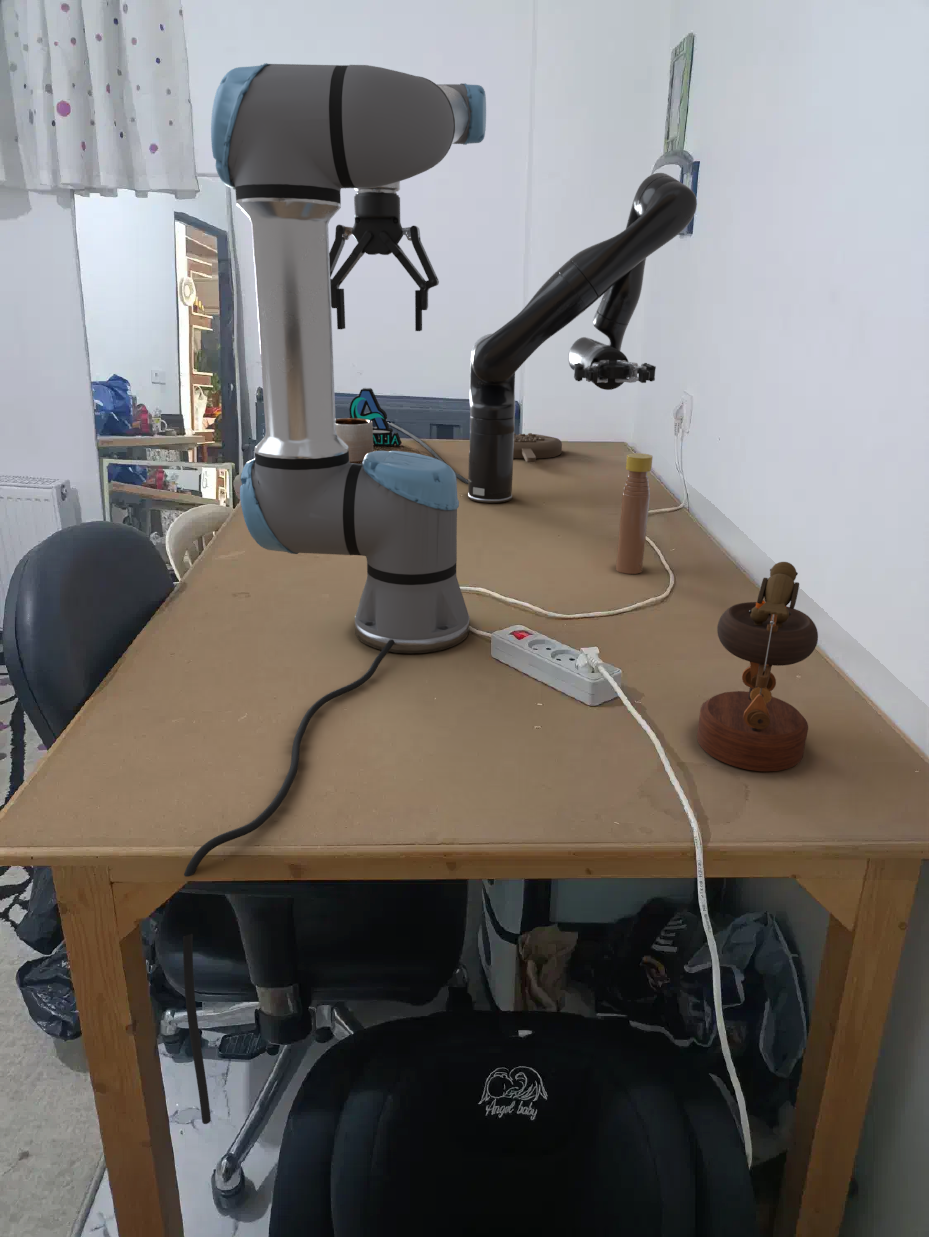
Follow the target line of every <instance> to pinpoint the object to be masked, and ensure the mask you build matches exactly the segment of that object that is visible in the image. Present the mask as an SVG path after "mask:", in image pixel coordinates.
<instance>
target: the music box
mask: <svg viewBox="0 0 929 1237" xmlns="http://www.w3.org/2000/svg"><path fill="white" fill-rule="evenodd" d="M798 574H799V572H797V569H796V567H795V566H794V565H793V564H792V563H791V562H788V561H779V562H777V563H775V564H774V565H773V566H772V567H771V568H769V575H770V576H769V577H763V578H762V581H761V585H760V588H759V592H758V596H757V600H756V601H747V602H740V603H737V604H734V605H732V606H730V607H728V608H727V609H725V611H723V612H722V614H721V615H720V617H719V620H718V622H717V628H716V632H717V637H718V640H719V641H720V644H721V645H722V646H723V648H724V649H725V650H726V651H727V652H728V653H730V654H731V655H733V656H735V657H736V658H738V659H741V660H743V661H747V662H749V666H747V667H746V668H745V669H744V670H743V672H742V673H741V678H742V679H741V680H742V683H743V684H744V685H745V686H746V687H748V688H749V689H748V691H745V690H744V691H743V690H739V691H737V690H735V691H734V690H733V691H725V692H722V693H719V694H716V695H714V696H712V697H711V698H708V699H707V700H705V701H704V702H703V703H702V705H701V706H700V709H699V710H700V711H699V718H698V724H697V732H696V739H697V742H698V744H699V746H700V748H702V750H703V751H704V752H706V753H707V754H708V755H710V756H711V757H712V758H714V759H716V760H718V761H719V762H722V763H724V764H726V765H729V766H731V767H732V766H733V767H736V768H739V769H743V770H748V771H753V772H754V771H755V772H778V771H783V770H787V769H791V768H792V767H794V766H795V767H796V765H798V764H799V763H800V762H801V761H802V759H803V757H804V752H805V747H806V742H807V737H808V732H809V724H808V721H807V720H806V718H805V716H803V715H802V714H801V712H800V711H799V710H798V709H797V708H796V707H795V706H794V705H792V704H790V703H788V702H786V701H784V700H783V699H781V698H778V697H774V696H772V691H773V690H774V689H775V687H776V685H777V679H776V676H775V675H774V674H773V673H772V671H771V670H772V668H773V667H774V666H777V667H779V666H790V665H795V664H797V663H800V662H802V661H804V660H806V659H808V658H809V657H810V656H811V655H812V654H813V653H814V651H815V649H816V647H817V645H818V641H819V631H818V628H817V626H816V624H815V622H814V621H813V619H812V618H811V617H810V616H809V615H807V614H806V613H805V612H803V611H801V610H799V609H796V608H795V606H796V603H797V598H798V595H799V588H800V583H799V582H797V581H796V578H797V576H798ZM788 605H789V606H788Z"/></svg>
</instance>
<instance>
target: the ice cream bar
mask: <svg viewBox="0 0 929 1237" xmlns="http://www.w3.org/2000/svg"><path fill="white" fill-rule="evenodd" d="M562 446H563V443H562V441H561V439H559V438H557V437H553V436H549V435H543V434H538V433H532V432H528V433H527V434H526V433H518V434H517V433H516V432H514V448H513V459H524V460H525V462H526V463H536V461H537V459H548V458H549V459H550V458H555V457H558V456H560V455H561V454H562V449H563V447H562Z"/></svg>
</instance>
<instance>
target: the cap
mask: <svg viewBox="0 0 929 1237" xmlns="http://www.w3.org/2000/svg"><path fill="white" fill-rule="evenodd" d="M625 461H626V463H625V470H626V471H628V472H629V471H634V472H647V473H648V472H651V471H652V467H653V455H651V454H649V453H642V452H640V453H639V452H633V453H632V452H631V453H628V454H626V460H625Z"/></svg>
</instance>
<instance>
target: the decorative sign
mask: <svg viewBox="0 0 929 1237" xmlns="http://www.w3.org/2000/svg"><path fill="white" fill-rule="evenodd" d="M366 408H367V409H368V410H369V411H368V412H365V411H366ZM348 411H349V418H362V419H368V420H371V421H372V422H374V424H375V426H373V446H381V447H382V446H385V447H390V446H391V447H394V446H396V447H400V446H401V445H402V440H401V437H400V435H399V433H398V432H397V431H395V432H394V429H393V427H390V425H389V424H388V423H387V421H386V420H387V418H388V414H387V412H386V411H385V410H384V409H383V408H382V407H381V406H380V404H379V401H378V399H377V397H376V395H375V392H374V389H373V388H371V387H362V388H361V389H360V390H359V394H358V395H356V396H355V397H354V398H353V399H352V400H351V402H350V405H349V410H348ZM393 432H394V433H393Z"/></svg>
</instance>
